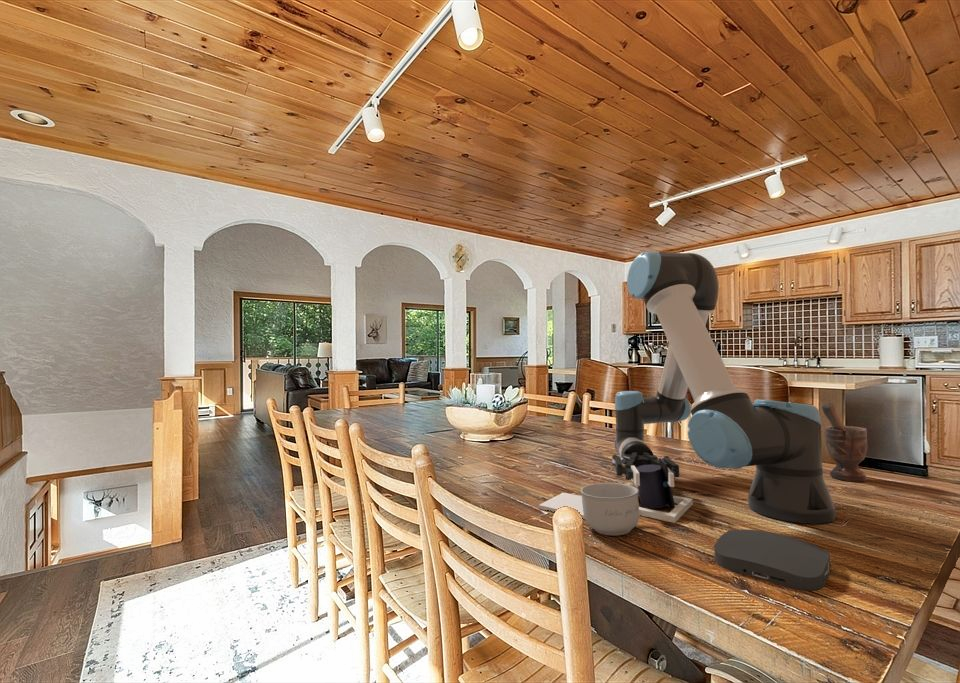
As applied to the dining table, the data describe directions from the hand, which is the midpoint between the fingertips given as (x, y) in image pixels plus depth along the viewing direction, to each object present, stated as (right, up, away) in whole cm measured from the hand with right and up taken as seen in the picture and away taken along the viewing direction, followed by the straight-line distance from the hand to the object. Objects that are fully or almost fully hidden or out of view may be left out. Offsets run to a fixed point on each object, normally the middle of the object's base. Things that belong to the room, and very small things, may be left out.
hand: (654, 480), depth 95 cm
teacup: (-10, -8, -7) cm, 14 cm away
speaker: (+2, -8, +5) cm, 9 cm away
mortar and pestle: (+58, -7, +22) cm, 62 cm away
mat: (-16, -8, +6) cm, 19 cm away
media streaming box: (+10, -7, -22) cm, 25 cm away
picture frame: (+1, -7, +5) cm, 9 cm away
